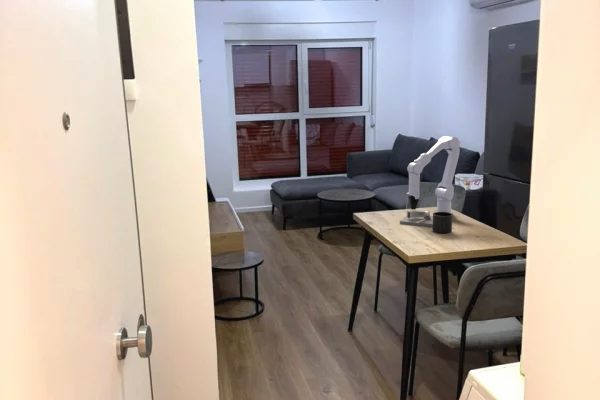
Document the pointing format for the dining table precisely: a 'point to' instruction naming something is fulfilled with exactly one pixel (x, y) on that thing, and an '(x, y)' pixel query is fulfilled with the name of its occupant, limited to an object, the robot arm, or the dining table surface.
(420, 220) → the plate
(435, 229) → the mug
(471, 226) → the dining table surface
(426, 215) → the bar
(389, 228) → the dining table surface
